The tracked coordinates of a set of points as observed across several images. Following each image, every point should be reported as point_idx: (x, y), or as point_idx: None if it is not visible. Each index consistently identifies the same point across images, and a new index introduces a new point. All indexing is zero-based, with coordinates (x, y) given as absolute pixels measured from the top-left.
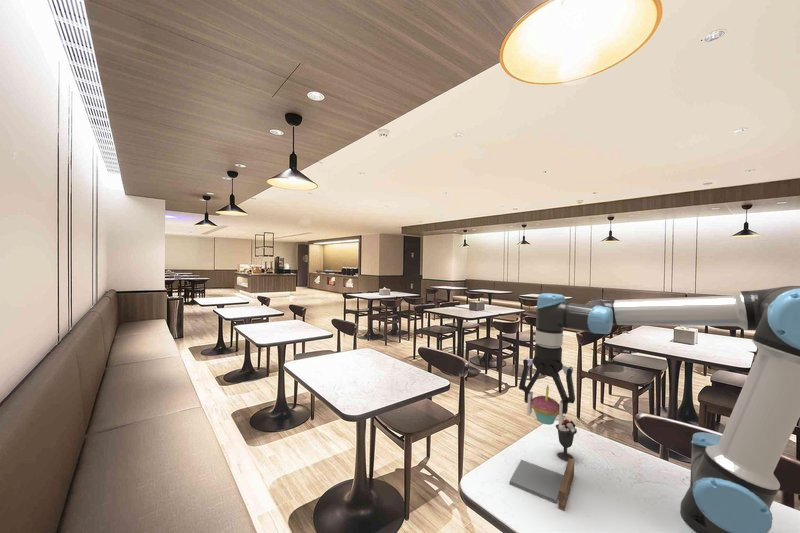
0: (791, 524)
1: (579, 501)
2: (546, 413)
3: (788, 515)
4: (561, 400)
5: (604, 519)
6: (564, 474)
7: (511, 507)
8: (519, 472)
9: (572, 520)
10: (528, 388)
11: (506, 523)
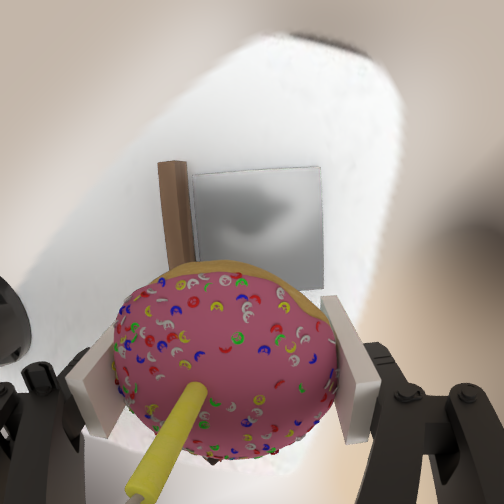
0: None
1: (153, 225)
2: (179, 267)
3: None
4: (97, 426)
5: (101, 202)
6: (181, 250)
7: (281, 86)
8: (310, 224)
9: (151, 146)
10: (400, 425)
11: (271, 35)
